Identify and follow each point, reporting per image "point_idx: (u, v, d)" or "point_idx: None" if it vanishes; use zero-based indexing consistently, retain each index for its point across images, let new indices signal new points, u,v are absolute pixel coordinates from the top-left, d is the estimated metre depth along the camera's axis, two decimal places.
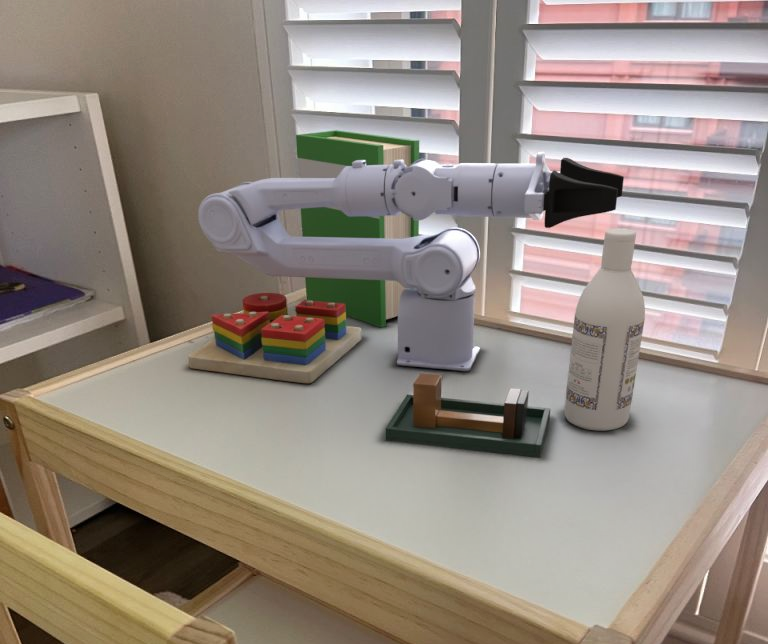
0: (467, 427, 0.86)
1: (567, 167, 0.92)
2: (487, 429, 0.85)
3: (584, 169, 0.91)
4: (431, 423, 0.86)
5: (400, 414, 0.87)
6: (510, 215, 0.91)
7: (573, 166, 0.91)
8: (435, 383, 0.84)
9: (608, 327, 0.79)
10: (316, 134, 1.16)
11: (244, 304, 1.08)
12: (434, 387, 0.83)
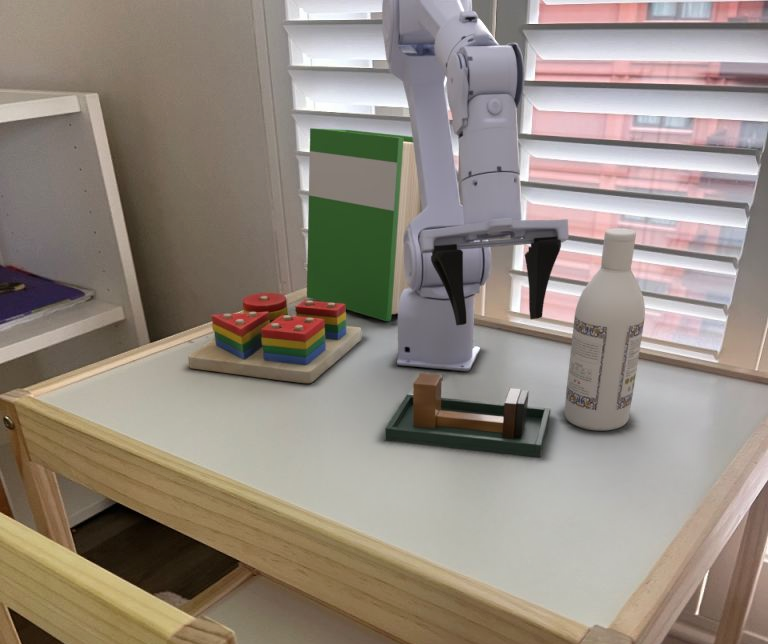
0: (467, 427, 0.86)
1: (536, 250, 0.78)
2: (487, 429, 0.85)
3: (537, 271, 0.79)
4: (431, 423, 0.86)
5: (400, 414, 0.87)
6: None
7: (537, 257, 0.78)
8: (435, 383, 0.84)
9: (608, 327, 0.79)
10: (330, 130, 1.17)
11: (244, 304, 1.08)
12: (434, 387, 0.83)
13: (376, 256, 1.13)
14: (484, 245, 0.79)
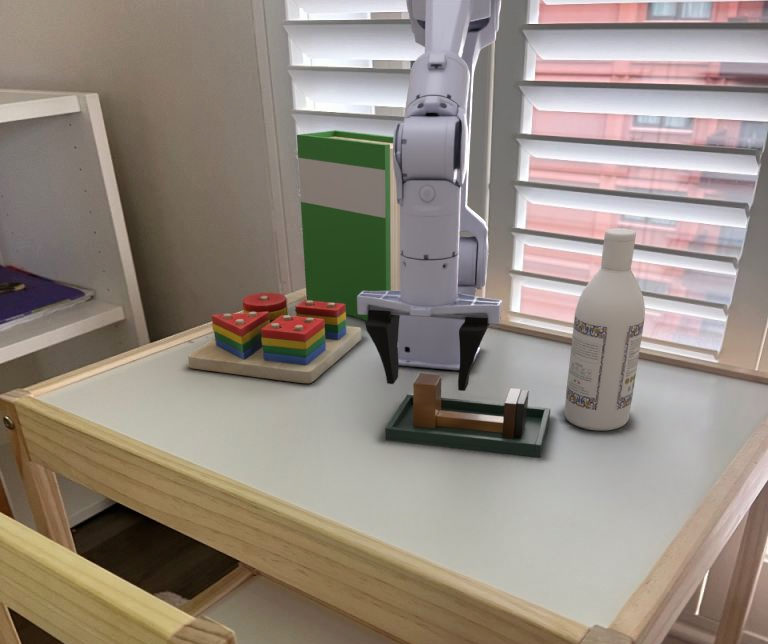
0: (467, 427, 0.86)
1: None
2: (487, 429, 0.85)
3: (460, 352, 0.80)
4: (431, 423, 0.86)
5: (400, 414, 0.87)
6: None
7: (460, 341, 0.80)
8: (435, 383, 0.84)
9: (608, 327, 0.79)
10: (317, 134, 1.15)
11: (244, 304, 1.08)
12: (434, 387, 0.83)
13: (371, 263, 1.13)
14: None
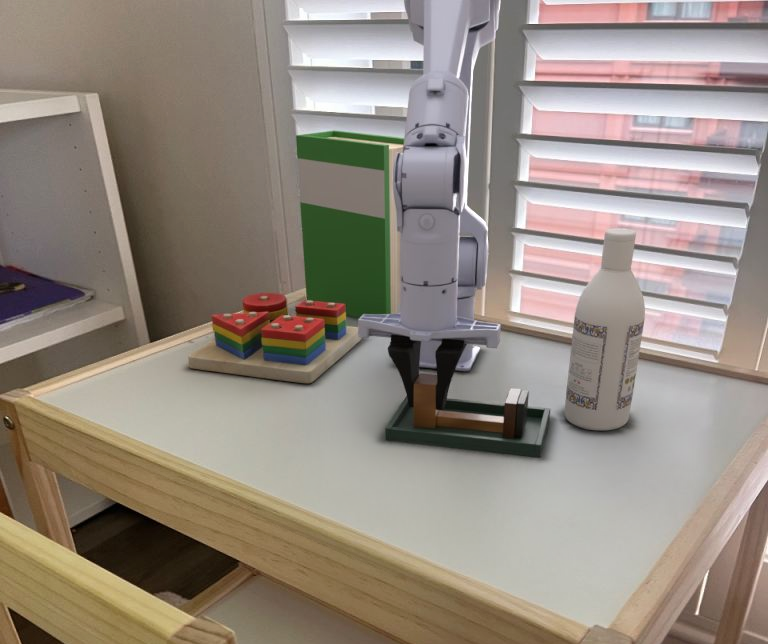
0: (467, 427, 0.86)
1: None
2: (487, 429, 0.85)
3: (437, 373, 0.82)
4: (431, 423, 0.86)
5: (400, 414, 0.87)
6: None
7: None
8: (435, 383, 0.84)
9: (608, 327, 0.79)
10: (316, 134, 1.15)
11: (244, 304, 1.08)
12: (434, 387, 0.83)
13: (371, 263, 1.13)
14: None
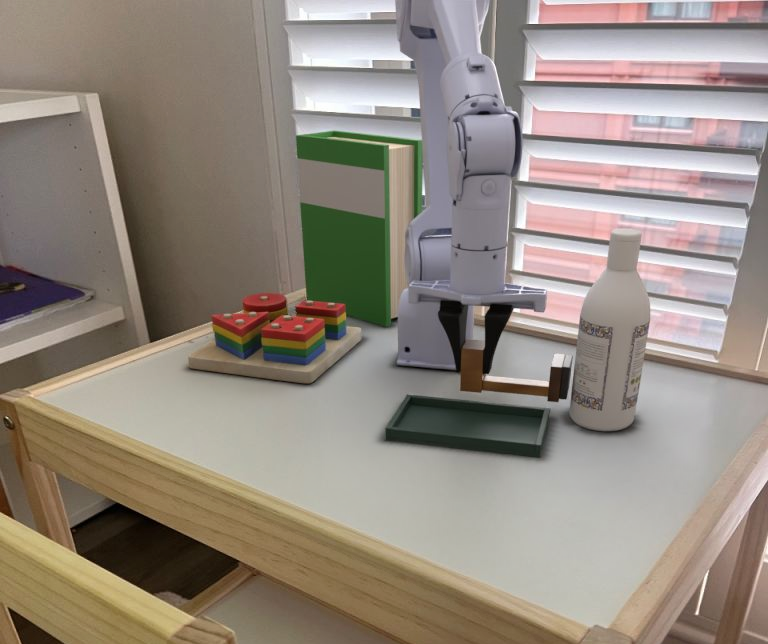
0: (512, 391, 0.89)
1: None
2: (532, 393, 0.88)
3: (485, 337, 0.85)
4: (478, 387, 0.89)
5: (400, 414, 0.87)
6: None
7: (485, 327, 0.84)
8: (483, 348, 0.87)
9: (613, 327, 0.79)
10: (316, 134, 1.15)
11: (244, 304, 1.08)
12: (482, 352, 0.86)
13: (371, 263, 1.13)
14: (466, 304, 0.85)
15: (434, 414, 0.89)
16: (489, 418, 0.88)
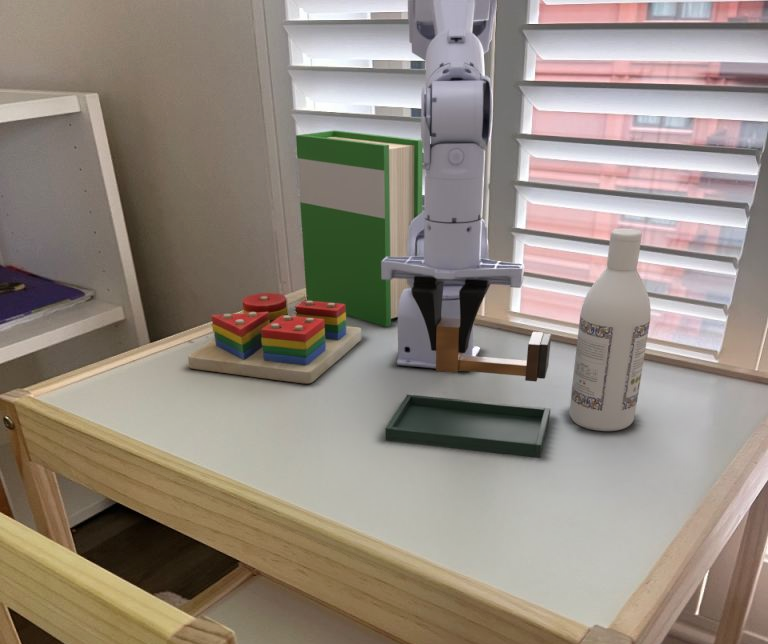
0: (490, 371, 0.86)
1: None
2: (510, 372, 0.85)
3: (460, 314, 0.83)
4: (454, 367, 0.86)
5: (400, 414, 0.87)
6: None
7: (460, 303, 0.82)
8: (458, 326, 0.84)
9: (614, 327, 0.79)
10: (316, 134, 1.15)
11: (244, 304, 1.08)
12: (457, 329, 0.84)
13: (371, 263, 1.13)
14: (440, 280, 0.83)
15: (434, 414, 0.89)
16: (489, 418, 0.88)
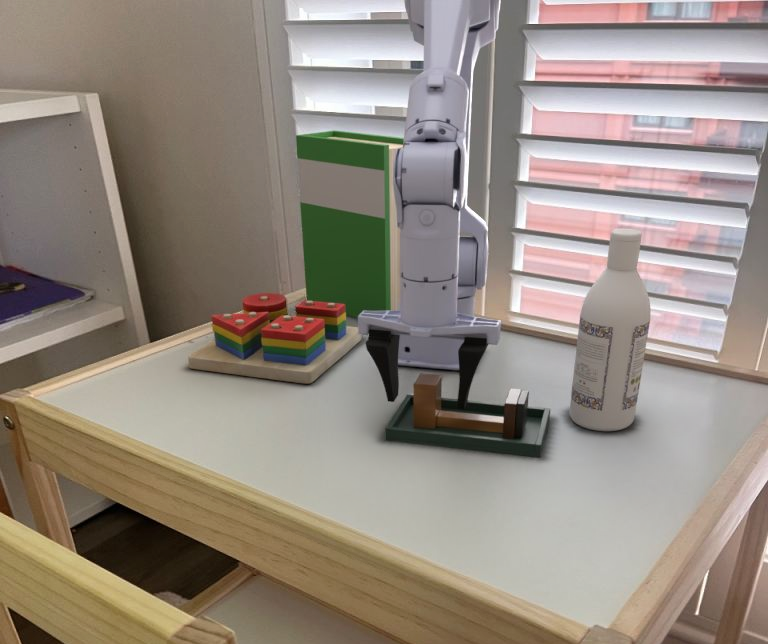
0: (467, 427, 0.86)
1: None
2: (487, 429, 0.85)
3: (459, 372, 0.82)
4: (432, 423, 0.86)
5: (400, 414, 0.87)
6: None
7: (459, 361, 0.81)
8: (435, 383, 0.84)
9: (614, 327, 0.79)
10: (316, 134, 1.15)
11: (244, 304, 1.08)
12: (434, 387, 0.83)
13: (371, 263, 1.13)
14: None
15: None
16: None
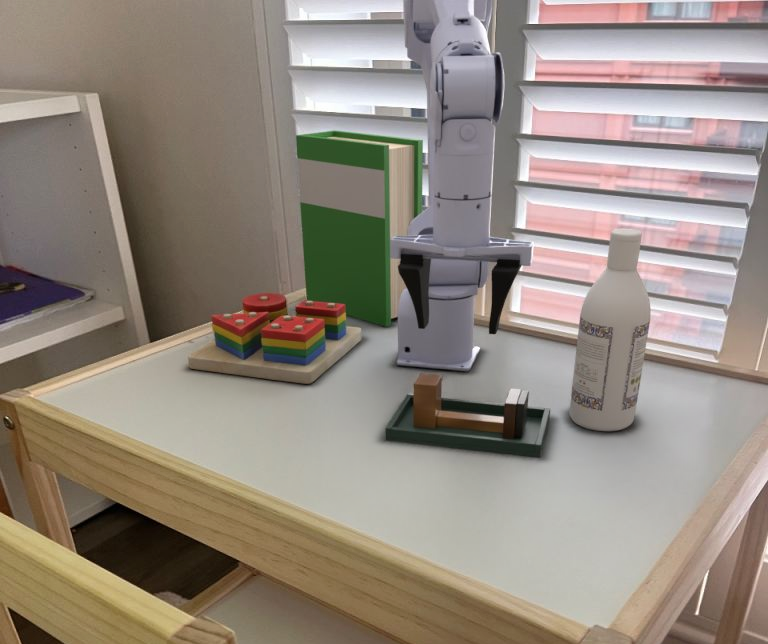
0: (467, 427, 0.86)
1: None
2: (487, 429, 0.85)
3: (492, 294, 0.82)
4: (432, 423, 0.86)
5: (400, 414, 0.87)
6: None
7: (492, 283, 0.81)
8: (435, 383, 0.84)
9: (614, 327, 0.79)
10: (316, 134, 1.15)
11: (244, 304, 1.08)
12: (434, 387, 0.83)
13: (371, 263, 1.13)
14: (449, 258, 0.82)
15: None
16: None
